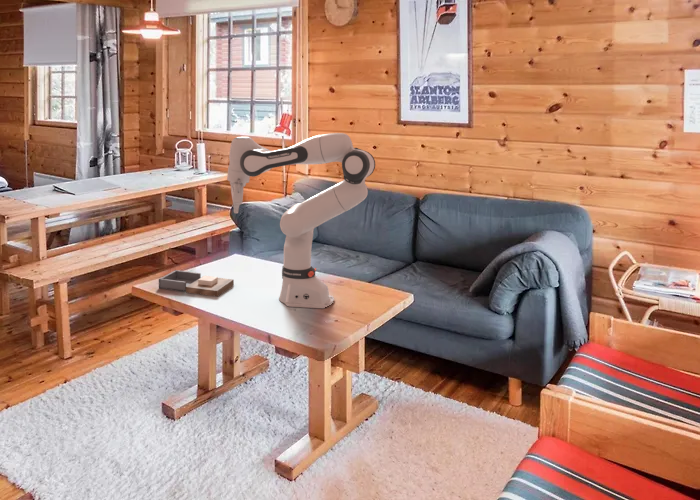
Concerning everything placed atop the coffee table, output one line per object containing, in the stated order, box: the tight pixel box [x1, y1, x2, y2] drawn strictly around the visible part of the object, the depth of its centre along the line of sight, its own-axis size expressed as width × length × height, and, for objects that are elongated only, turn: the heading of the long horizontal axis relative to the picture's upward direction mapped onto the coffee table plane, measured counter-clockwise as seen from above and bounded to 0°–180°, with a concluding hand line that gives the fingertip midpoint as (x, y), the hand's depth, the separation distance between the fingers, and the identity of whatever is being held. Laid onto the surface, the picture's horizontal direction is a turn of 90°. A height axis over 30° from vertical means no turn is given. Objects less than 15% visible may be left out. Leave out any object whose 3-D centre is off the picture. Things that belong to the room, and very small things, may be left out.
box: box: [158, 269, 202, 293], centre depth 272 cm, size 12×14×4 cm
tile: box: [198, 275, 219, 286], centre depth 269 cm, size 6×6×2 cm
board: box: [185, 276, 235, 297], centre depth 269 cm, size 14×16×2 cm
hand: (235, 210), depth 260 cm, fingers open, 8 cm apart
